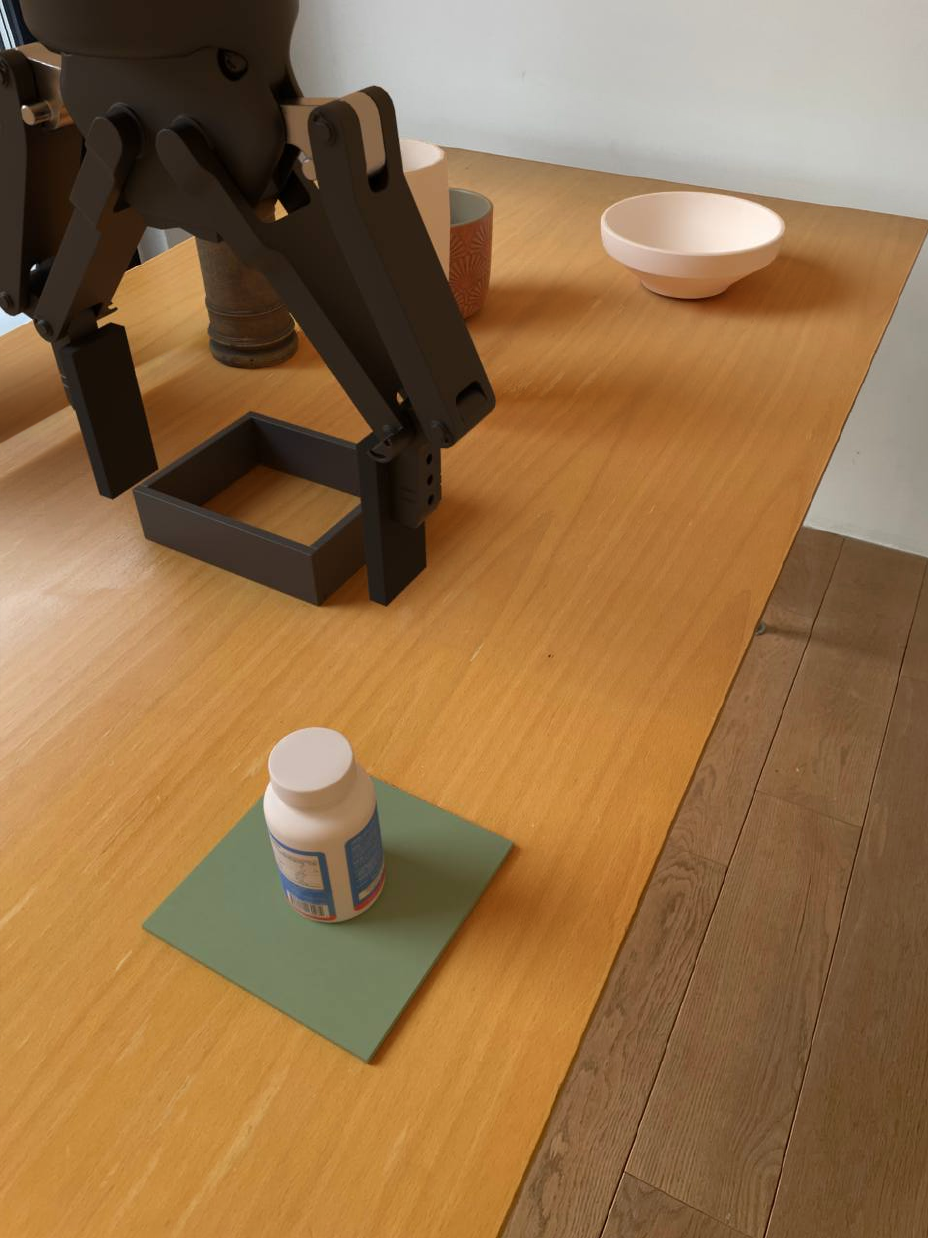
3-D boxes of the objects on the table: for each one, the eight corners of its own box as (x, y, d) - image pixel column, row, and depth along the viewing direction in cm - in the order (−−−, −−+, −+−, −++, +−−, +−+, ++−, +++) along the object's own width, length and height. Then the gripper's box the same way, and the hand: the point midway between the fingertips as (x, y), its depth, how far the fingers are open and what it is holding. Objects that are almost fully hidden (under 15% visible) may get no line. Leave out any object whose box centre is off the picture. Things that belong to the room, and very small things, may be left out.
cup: (380, 441, 88) (360, 184, 74) (325, 394, 95) (296, 151, 81) (479, 408, 92) (477, 159, 78) (419, 365, 99) (408, 129, 85)
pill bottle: (368, 827, 56) (354, 702, 49) (399, 906, 52) (387, 781, 46) (271, 857, 54) (243, 733, 48) (295, 941, 50) (268, 817, 44)
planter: (376, 335, 104) (368, 229, 97) (380, 288, 114) (372, 187, 107) (496, 332, 104) (496, 225, 97) (489, 285, 114) (490, 184, 107)
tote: (144, 538, 77) (131, 489, 75) (258, 457, 86) (250, 410, 83) (318, 606, 71) (311, 555, 68) (422, 511, 80) (419, 462, 77)
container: (285, 371, 98) (258, 178, 87) (197, 366, 99) (158, 175, 88) (310, 332, 105) (288, 148, 93) (227, 327, 106) (195, 145, 95)
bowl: (560, 284, 114) (563, 219, 109) (672, 240, 124) (679, 179, 119) (698, 339, 103) (708, 269, 98) (809, 286, 112) (823, 221, 108)
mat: (142, 929, 51) (140, 924, 51) (309, 751, 61) (308, 746, 60) (368, 1065, 46) (367, 1060, 46) (514, 846, 55) (514, 842, 55)
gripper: (644, -132, 24) (581, 576, 38) (-58, -163, 33) (99, 410, 47) (486, -98, 19) (480, 701, 33) (-282, -145, 28) (-34, 487, 42)
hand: (255, 530), depth 40 cm, fingers open, 13 cm apart
